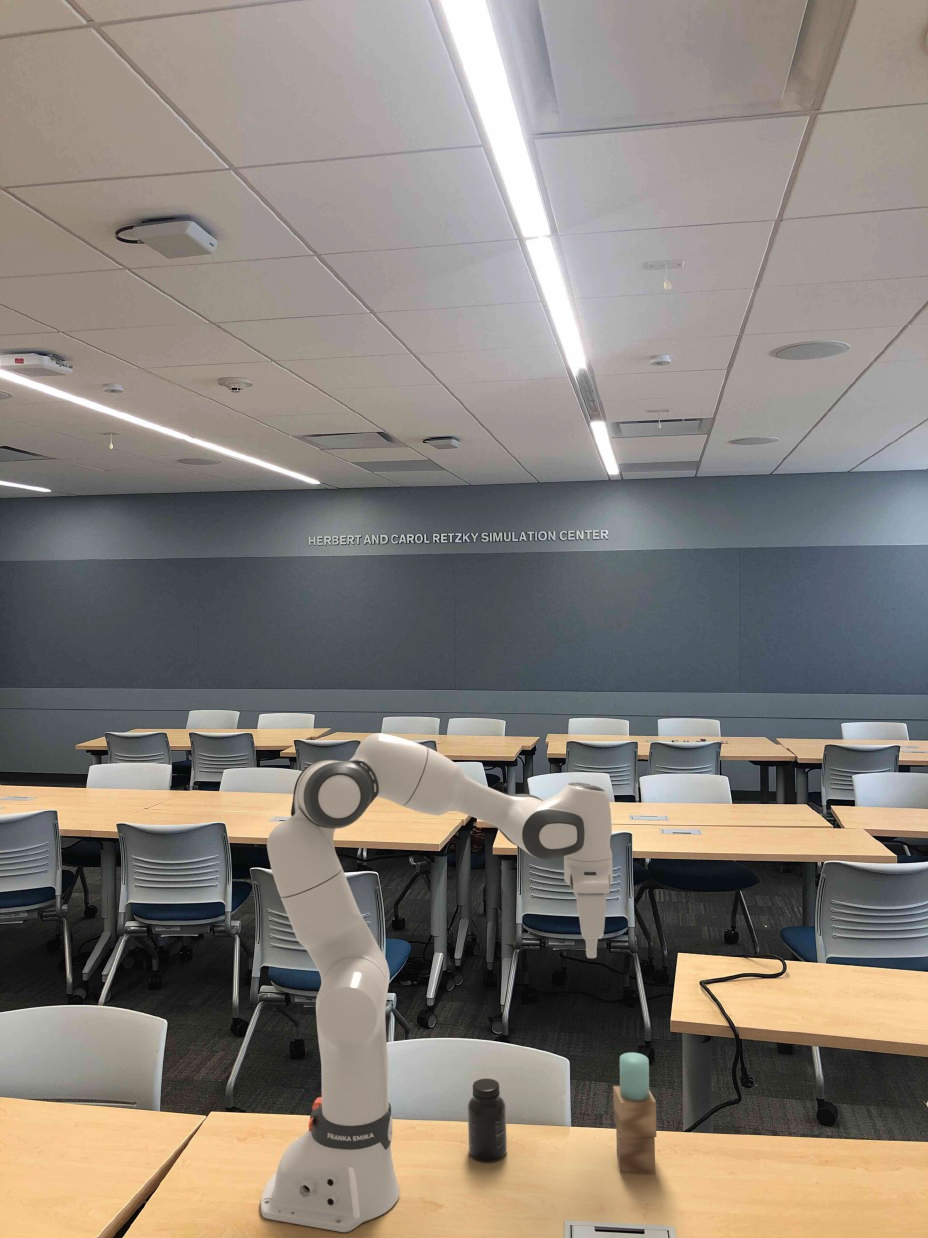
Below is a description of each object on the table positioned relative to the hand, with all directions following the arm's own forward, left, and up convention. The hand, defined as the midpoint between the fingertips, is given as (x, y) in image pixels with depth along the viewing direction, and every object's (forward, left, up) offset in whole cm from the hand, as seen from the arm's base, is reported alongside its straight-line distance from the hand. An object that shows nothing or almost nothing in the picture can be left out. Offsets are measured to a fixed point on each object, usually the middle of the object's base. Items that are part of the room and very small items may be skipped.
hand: (589, 948), depth 163 cm
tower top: (+7, -6, -29) cm, 31 cm away
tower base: (+7, -6, -35) cm, 36 cm away
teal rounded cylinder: (+7, -6, -23) cm, 25 cm away
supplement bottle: (-19, -4, -35) cm, 40 cm away
